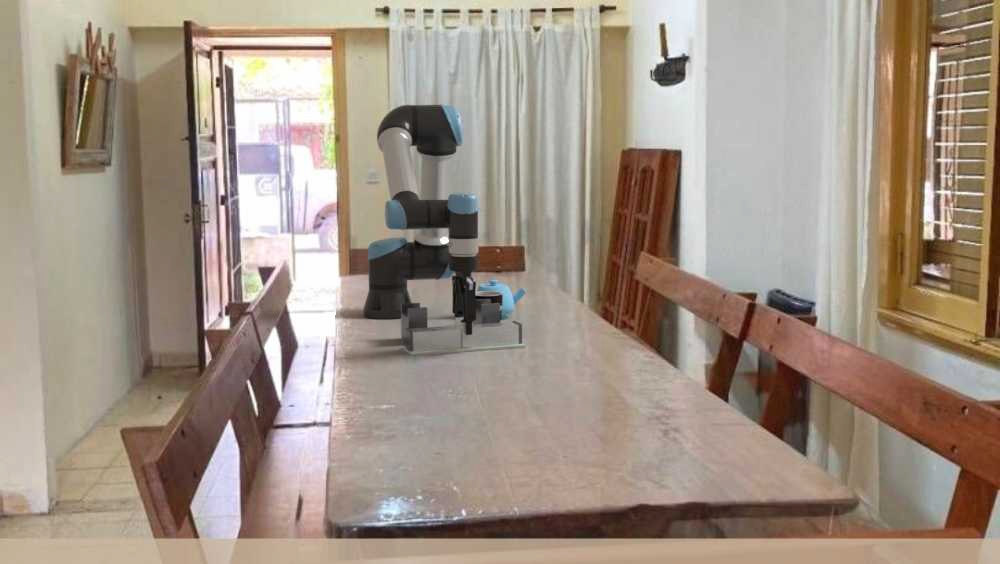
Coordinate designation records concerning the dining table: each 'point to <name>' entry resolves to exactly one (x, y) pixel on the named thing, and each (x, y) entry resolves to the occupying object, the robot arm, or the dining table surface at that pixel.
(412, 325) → the post
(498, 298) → the mug
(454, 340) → the rail
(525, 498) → the dining table surface
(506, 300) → the teapot
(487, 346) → the mat
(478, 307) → the post
